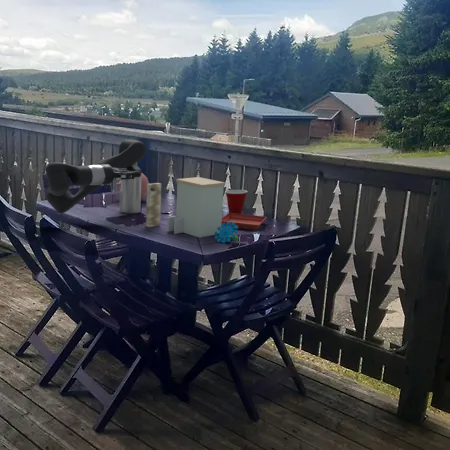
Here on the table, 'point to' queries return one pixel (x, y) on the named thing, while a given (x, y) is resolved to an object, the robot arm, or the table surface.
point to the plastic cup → (235, 200)
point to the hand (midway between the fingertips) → (133, 172)
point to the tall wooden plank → (153, 204)
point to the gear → (227, 233)
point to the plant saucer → (243, 220)
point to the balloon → (143, 185)
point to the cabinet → (197, 207)
